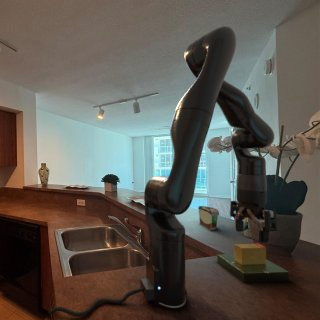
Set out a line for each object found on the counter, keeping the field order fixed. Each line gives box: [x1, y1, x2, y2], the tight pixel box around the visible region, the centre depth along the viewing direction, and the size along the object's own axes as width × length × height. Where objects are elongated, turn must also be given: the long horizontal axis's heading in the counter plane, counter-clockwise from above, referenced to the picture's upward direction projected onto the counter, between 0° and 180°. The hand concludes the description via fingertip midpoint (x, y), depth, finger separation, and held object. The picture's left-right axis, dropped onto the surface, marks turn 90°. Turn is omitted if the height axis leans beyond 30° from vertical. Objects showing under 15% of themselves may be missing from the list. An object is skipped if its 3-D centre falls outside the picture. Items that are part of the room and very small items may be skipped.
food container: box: [198, 205, 220, 232], centre depth 103 cm, size 12×6×10 cm, turn 179°
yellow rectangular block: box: [234, 242, 267, 265], centre depth 64 cm, size 8×3×6 cm, turn 92°
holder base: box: [216, 253, 290, 284], centre depth 64 cm, size 14×12×3 cm
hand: (250, 236), depth 64 cm, fingers open, 8 cm apart
